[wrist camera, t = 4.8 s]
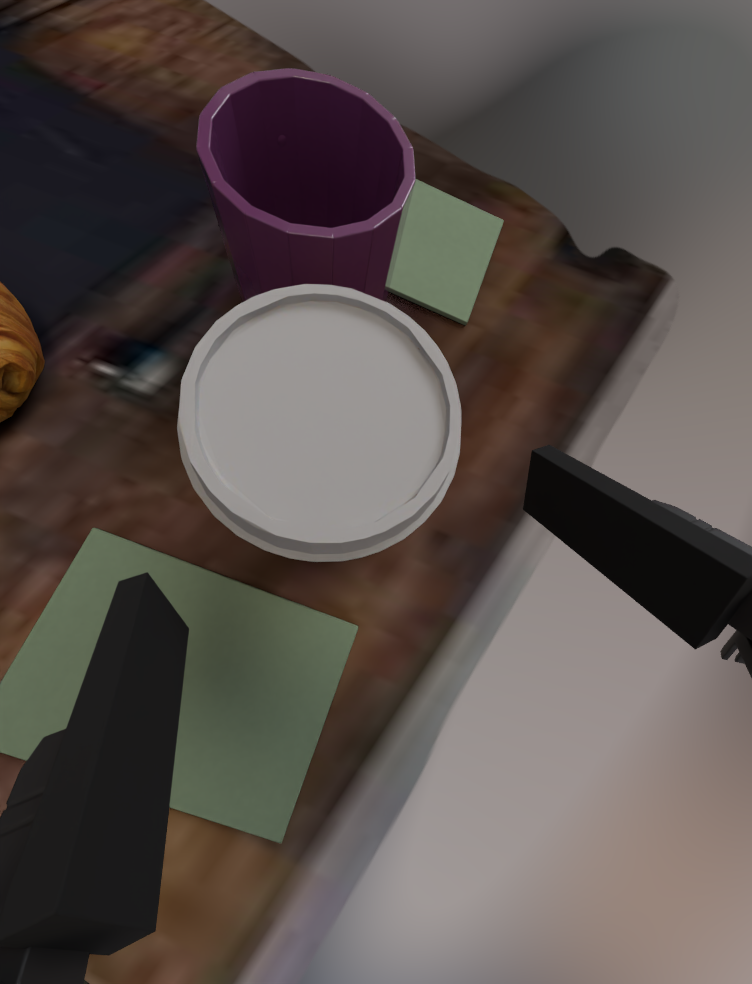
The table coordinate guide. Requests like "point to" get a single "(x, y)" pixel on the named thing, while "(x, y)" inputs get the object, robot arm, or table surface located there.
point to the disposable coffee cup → (319, 423)
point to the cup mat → (194, 680)
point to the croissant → (16, 354)
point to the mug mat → (443, 253)
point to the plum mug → (306, 181)
